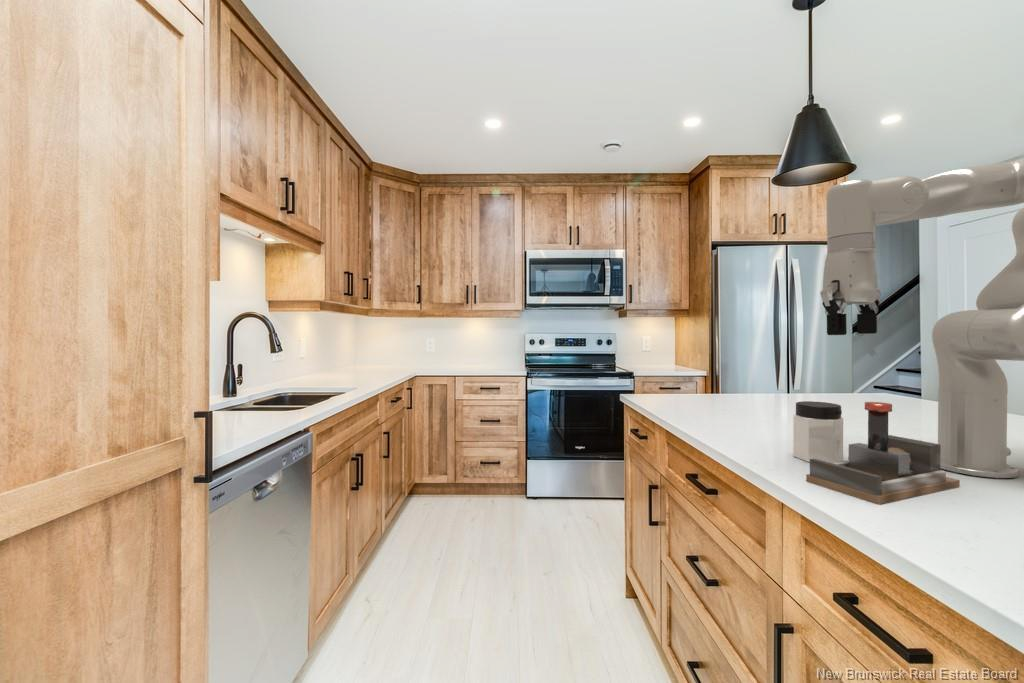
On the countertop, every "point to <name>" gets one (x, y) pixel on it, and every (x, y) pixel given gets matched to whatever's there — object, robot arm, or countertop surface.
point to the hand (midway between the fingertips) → (852, 334)
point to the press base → (876, 490)
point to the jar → (818, 432)
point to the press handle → (878, 447)
